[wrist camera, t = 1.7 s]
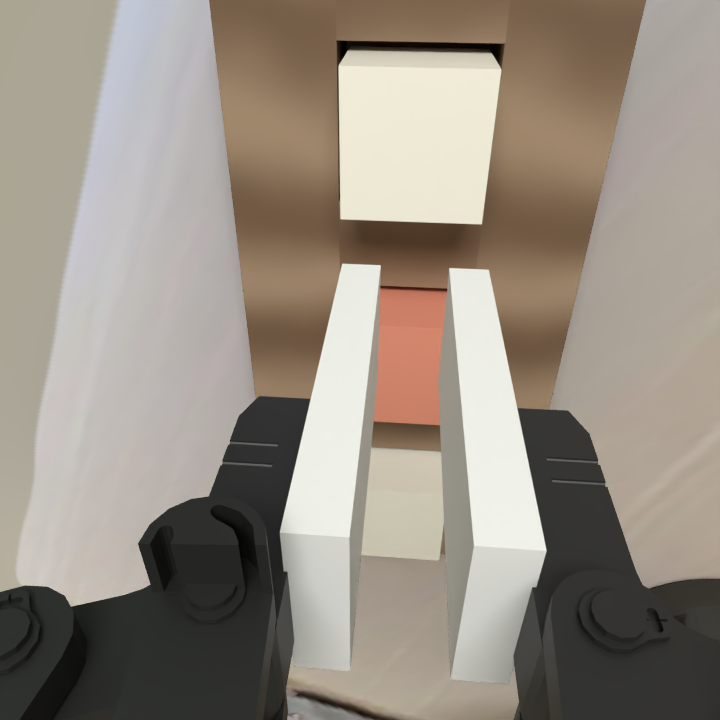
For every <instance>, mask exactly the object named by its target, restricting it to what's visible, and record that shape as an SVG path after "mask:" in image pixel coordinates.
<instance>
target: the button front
mask: <svg viewBox="0 0 720 720" xmlns="http://www.w3.org/2000/svg"><path fill="white" fill-rule="evenodd" d="M500 77H501V68H500V66H499V64H498V63H497V61H496V59H495V58H494V56H493V54H492V53H491V51H490V49H468V48H415V47H362V46H350V48H349V49H348V51H347V53H346V54H345V56H344V58H343V59H342V61H341V63H340V64H339V142H340V219H346V220H373V221H401V222H428V223H456V224H482V219H483V211H484V203H485V195H486V188H487V180H488V172H489V164H490V156H491V148H492V140H493V132H494V125H495V117H496V109H497V101H498V93H499V85H500Z"/></svg>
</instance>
